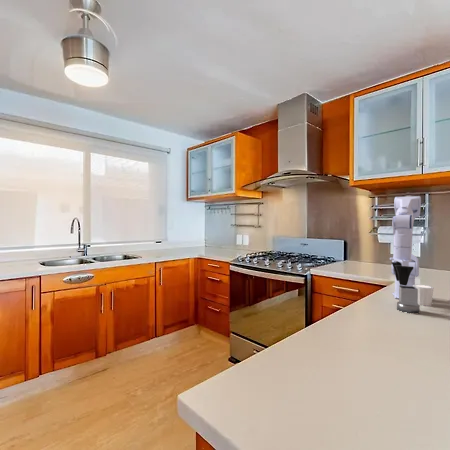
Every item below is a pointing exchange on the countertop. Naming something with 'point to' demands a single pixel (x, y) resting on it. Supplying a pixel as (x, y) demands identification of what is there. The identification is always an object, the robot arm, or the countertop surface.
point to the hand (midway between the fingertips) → (401, 282)
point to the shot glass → (424, 294)
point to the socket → (408, 295)
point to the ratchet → (408, 308)
